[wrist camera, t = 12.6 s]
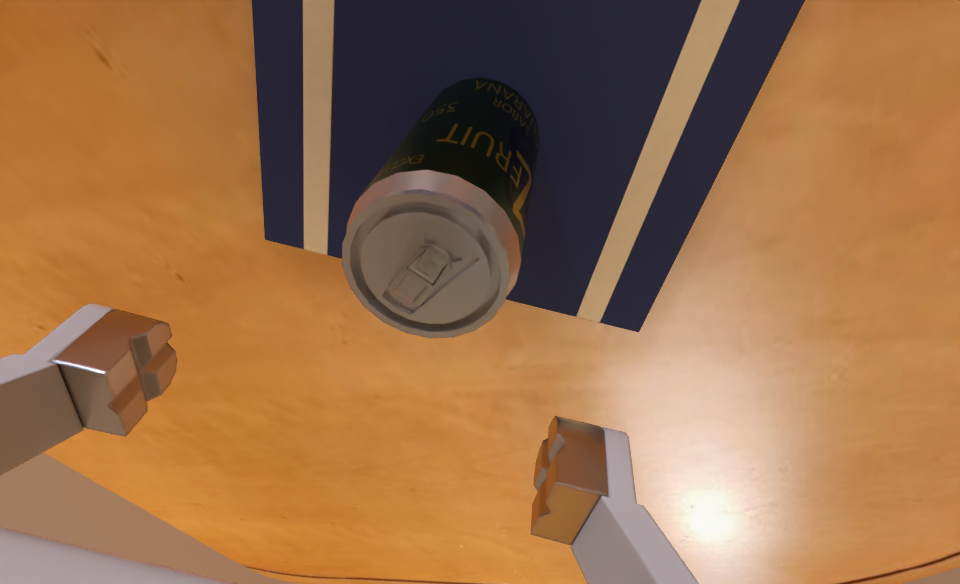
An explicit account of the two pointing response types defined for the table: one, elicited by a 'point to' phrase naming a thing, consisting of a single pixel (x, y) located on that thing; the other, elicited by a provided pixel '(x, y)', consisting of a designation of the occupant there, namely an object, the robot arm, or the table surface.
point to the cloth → (555, 104)
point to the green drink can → (447, 214)
